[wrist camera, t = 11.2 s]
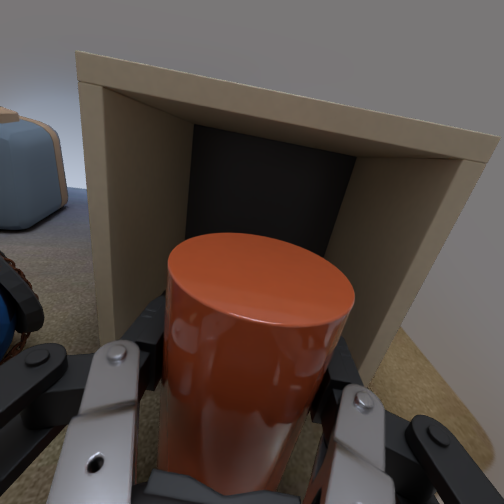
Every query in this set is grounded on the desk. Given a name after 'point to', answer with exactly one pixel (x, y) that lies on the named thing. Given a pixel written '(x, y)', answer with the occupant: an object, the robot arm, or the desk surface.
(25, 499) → the desk surface
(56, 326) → the desk surface
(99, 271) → the open cubby shelf
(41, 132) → the blue rounded box
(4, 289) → the bomb
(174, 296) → the glossy red cylinder
